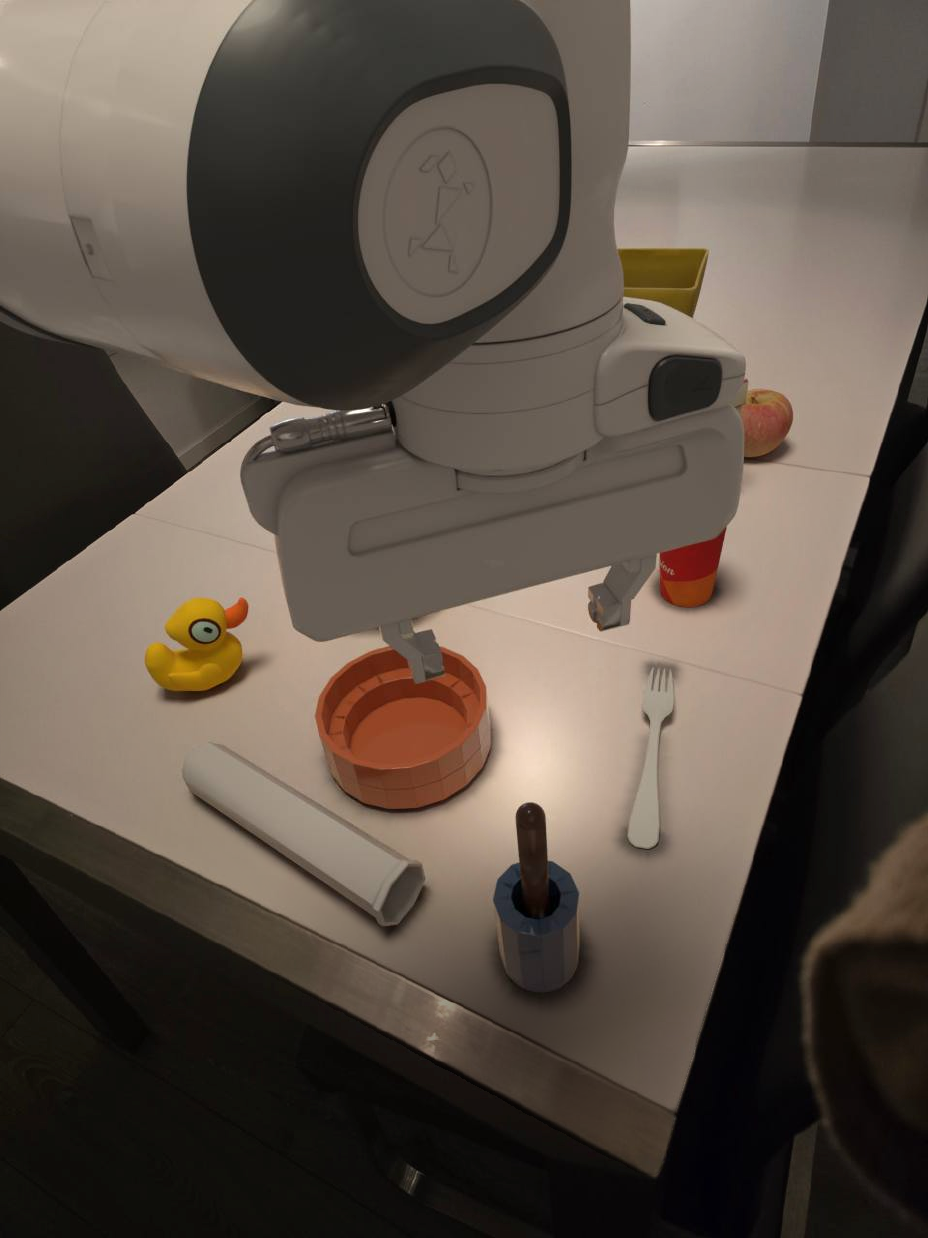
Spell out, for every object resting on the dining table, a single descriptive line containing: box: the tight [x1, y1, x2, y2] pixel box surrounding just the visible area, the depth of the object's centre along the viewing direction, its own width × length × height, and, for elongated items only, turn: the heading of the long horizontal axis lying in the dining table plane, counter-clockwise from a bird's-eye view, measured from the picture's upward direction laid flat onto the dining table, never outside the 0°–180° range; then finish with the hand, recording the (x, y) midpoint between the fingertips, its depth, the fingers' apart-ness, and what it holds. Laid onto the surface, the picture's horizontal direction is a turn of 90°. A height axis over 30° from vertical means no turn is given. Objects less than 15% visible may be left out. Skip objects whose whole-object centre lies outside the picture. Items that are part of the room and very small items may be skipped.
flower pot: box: [617, 247, 710, 319], centre depth 126 cm, size 19×19×17 cm
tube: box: [181, 742, 426, 927], centre depth 67 cm, size 5×5×25 cm
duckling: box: [144, 597, 249, 692], centre depth 82 cm, size 11×5×10 cm, turn 112°
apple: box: [741, 388, 794, 458], centre depth 107 cm, size 9×9×8 cm
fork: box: [626, 667, 675, 850], centre depth 72 cm, size 3×21×3 cm, turn 165°
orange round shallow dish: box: [314, 645, 492, 810], centre depth 73 cm, size 15×15×6 cm
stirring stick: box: [515, 801, 550, 919], centre depth 53 cm, size 2×2×17 cm
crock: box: [492, 860, 581, 994], centre depth 56 cm, size 6×6×8 cm
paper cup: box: [658, 526, 728, 608], centre depth 84 cm, size 8×8×14 cm
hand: (519, 646), depth 39 cm, fingers open, 8 cm apart
